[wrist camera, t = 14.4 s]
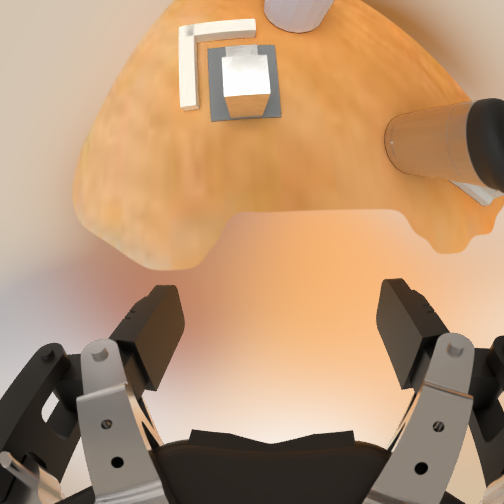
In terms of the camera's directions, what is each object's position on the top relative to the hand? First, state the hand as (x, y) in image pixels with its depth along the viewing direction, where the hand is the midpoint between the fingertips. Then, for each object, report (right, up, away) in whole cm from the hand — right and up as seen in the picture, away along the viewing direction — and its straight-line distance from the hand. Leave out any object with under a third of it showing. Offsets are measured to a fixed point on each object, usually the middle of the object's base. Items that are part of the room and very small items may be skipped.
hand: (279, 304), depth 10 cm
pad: (-2, +24, +21) cm, 32 cm away
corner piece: (-5, +27, +20) cm, 34 cm away
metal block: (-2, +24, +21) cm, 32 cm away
